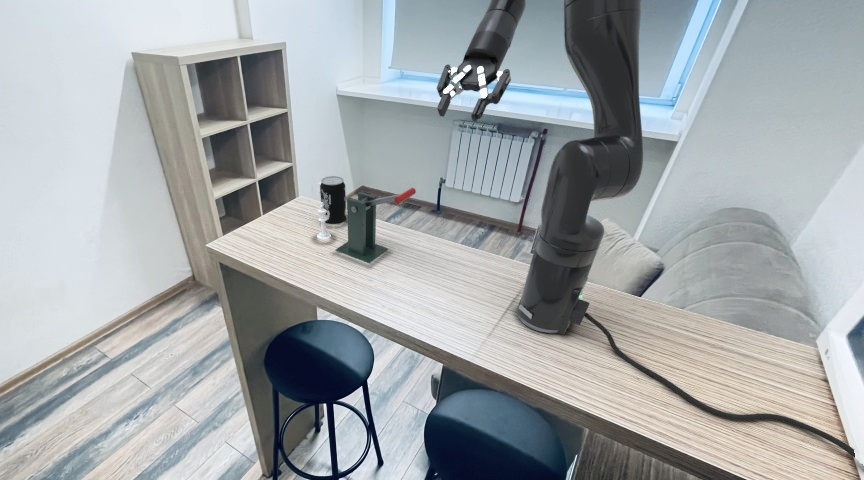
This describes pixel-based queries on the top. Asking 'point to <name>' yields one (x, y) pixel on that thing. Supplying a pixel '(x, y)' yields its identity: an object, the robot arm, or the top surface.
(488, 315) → the top surface
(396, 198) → the lever
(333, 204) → the beverage can
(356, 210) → the bracket
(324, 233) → the chess piece
